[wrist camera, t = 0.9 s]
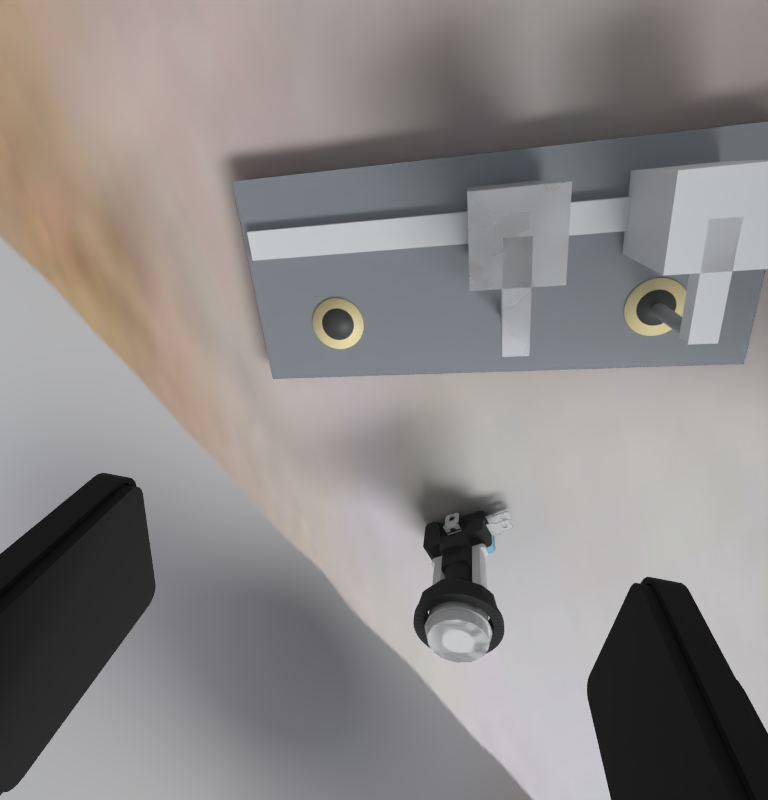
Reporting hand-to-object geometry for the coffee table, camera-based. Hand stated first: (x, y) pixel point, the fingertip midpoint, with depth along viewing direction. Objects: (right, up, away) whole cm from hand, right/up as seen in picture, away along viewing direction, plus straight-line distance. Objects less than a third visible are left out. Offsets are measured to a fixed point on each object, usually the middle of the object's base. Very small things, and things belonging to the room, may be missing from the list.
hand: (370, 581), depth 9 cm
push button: (+7, -6, +27) cm, 29 cm away
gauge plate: (+6, +11, +19) cm, 23 cm away
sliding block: (+7, +11, +17) cm, 21 cm away
